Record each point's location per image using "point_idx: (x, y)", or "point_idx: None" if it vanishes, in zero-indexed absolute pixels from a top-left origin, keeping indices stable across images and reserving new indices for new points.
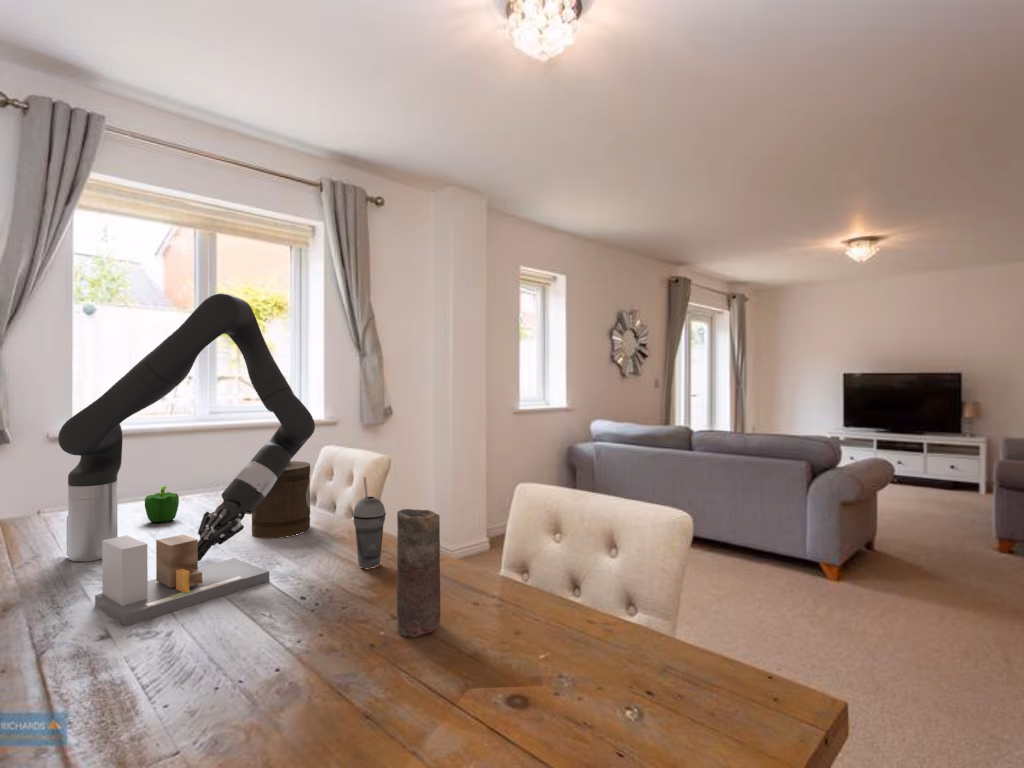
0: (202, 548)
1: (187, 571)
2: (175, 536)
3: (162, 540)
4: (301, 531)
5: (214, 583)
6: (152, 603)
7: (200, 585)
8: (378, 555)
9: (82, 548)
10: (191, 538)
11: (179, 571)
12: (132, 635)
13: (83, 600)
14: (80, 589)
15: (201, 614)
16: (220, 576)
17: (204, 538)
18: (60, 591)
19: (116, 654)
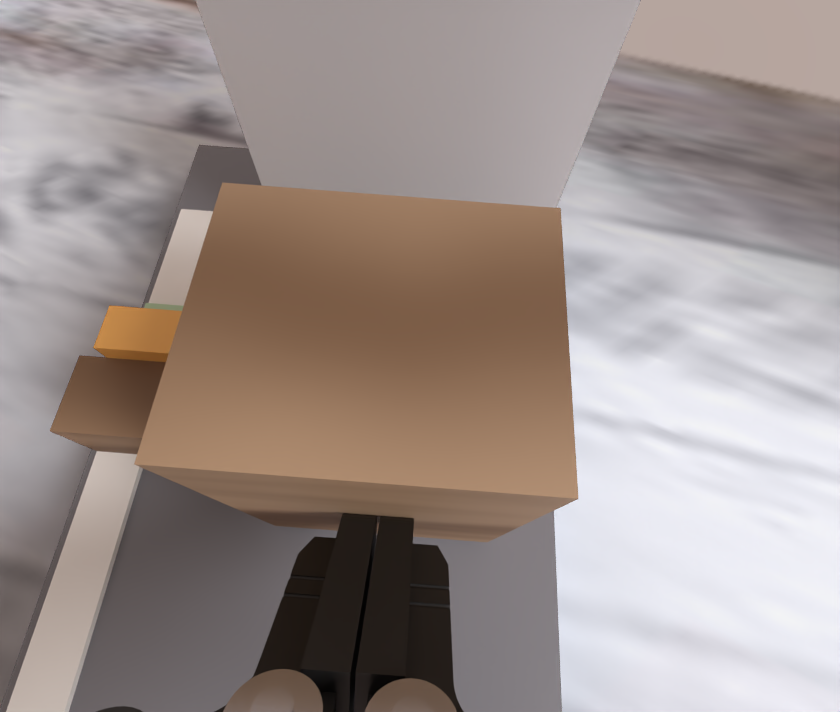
0: (278, 608)
1: (104, 338)
2: (546, 382)
3: (492, 231)
4: None
5: (134, 570)
6: (190, 228)
7: (193, 494)
8: None
9: None
10: (261, 443)
11: (164, 312)
12: (120, 161)
13: (635, 207)
14: (798, 248)
15: (5, 374)
16: (210, 689)
17: (300, 688)
18: (824, 204)
19: (44, 93)
